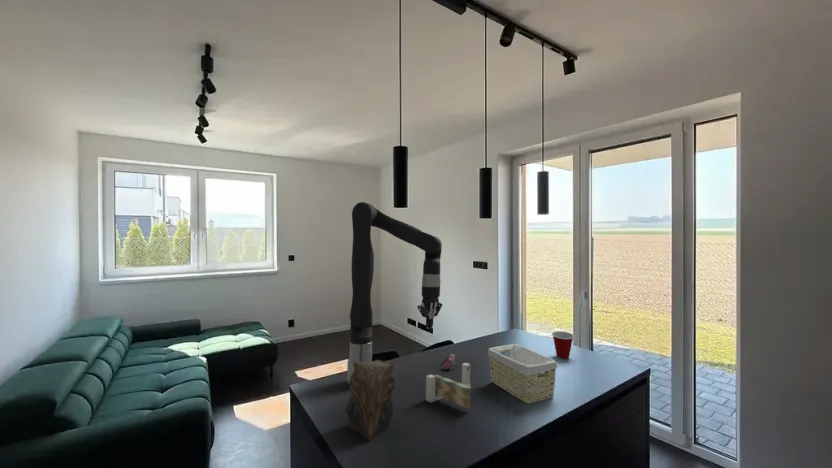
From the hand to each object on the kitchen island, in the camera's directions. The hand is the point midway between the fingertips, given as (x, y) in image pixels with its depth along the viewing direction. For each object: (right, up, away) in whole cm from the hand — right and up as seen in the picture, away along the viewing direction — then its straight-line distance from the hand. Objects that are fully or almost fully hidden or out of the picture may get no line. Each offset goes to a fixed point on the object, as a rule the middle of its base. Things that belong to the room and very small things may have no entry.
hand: (429, 327), depth 139 cm
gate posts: (+8, -24, -5) cm, 26 cm away
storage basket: (+37, -25, -2) cm, 44 cm away
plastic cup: (+71, -26, +38) cm, 84 cm away
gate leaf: (+7, -23, -15) cm, 28 cm away
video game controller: (+10, -25, +23) cm, 36 cm away
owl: (-20, -24, -31) cm, 44 cm away
